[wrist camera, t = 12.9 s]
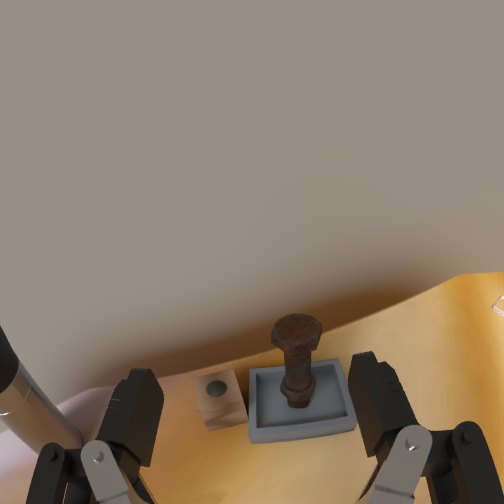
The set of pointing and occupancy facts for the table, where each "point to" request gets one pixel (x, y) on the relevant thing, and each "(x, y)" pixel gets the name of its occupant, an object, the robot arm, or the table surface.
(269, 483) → the table surface
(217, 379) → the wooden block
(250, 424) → the tray
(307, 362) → the bolt
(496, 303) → the phone case
